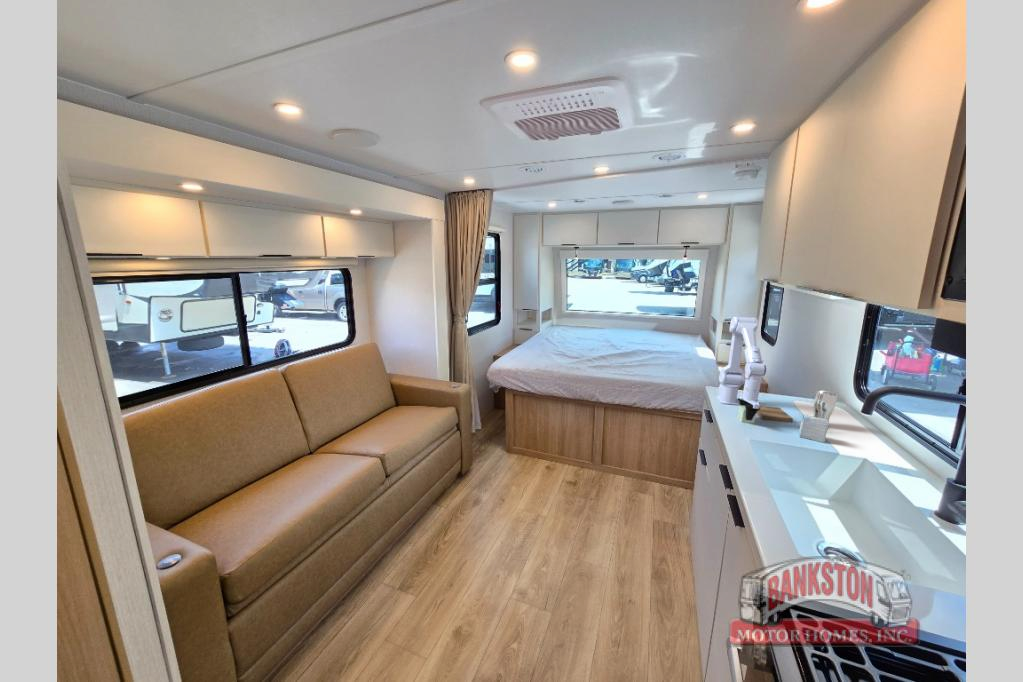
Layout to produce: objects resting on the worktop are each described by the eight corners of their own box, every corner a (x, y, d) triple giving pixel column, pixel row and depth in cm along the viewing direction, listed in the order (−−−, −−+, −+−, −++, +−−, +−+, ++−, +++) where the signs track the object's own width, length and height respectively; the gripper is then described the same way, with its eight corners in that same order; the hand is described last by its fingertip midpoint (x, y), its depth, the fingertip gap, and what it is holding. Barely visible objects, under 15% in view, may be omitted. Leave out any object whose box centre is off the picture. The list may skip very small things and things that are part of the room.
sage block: (737, 417, 162) (739, 405, 161) (749, 418, 161) (751, 406, 160) (741, 422, 157) (743, 409, 156) (754, 423, 156) (756, 411, 155)
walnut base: (750, 408, 172) (751, 405, 171) (778, 411, 170) (779, 407, 169) (762, 419, 161) (763, 415, 160) (792, 422, 158) (793, 418, 158)
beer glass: (827, 429, 152) (835, 397, 149) (806, 423, 158) (814, 392, 154) (831, 425, 156) (839, 393, 153) (811, 419, 162) (819, 388, 158)
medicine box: (822, 438, 144) (827, 419, 142) (824, 443, 141) (829, 423, 139) (798, 433, 149) (802, 414, 147) (799, 437, 145) (803, 417, 143)
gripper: (735, 382, 163) (730, 409, 167) (748, 393, 150) (742, 423, 153) (752, 383, 162) (746, 411, 165) (767, 395, 148) (761, 425, 151)
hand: (746, 417), depth 159 cm, fingers closed on sage block, 5 cm apart
